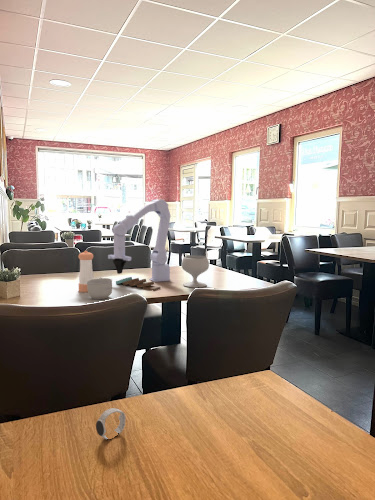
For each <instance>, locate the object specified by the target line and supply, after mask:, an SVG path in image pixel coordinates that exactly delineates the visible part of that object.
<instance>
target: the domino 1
mask: <svg viewBox="0 0 375 500" xmlns="http://www.w3.org/2000/svg"><path fill="white" fill-rule="evenodd" d="M132 279H133V278H132V276H129V277H125V278H122V279H119V280H116V281H114V282H115V285H120V284H123V282H126V281H129V280H132Z"/></svg>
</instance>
